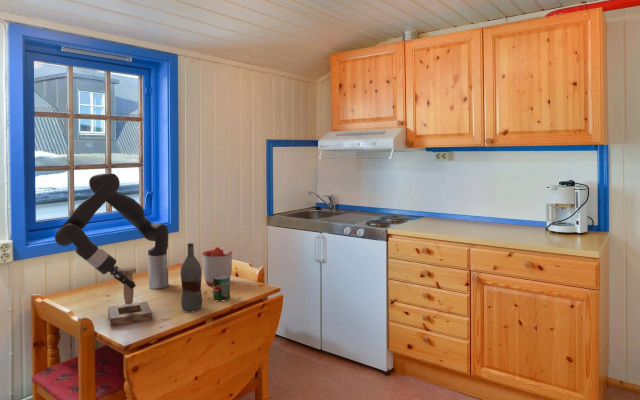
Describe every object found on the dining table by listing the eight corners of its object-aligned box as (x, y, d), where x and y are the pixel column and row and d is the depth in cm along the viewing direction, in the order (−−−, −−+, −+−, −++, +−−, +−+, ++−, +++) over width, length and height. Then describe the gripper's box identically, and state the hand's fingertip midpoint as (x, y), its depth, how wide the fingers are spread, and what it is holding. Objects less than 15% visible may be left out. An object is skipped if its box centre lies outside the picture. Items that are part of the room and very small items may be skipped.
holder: (147, 308, 209) (146, 301, 208) (152, 320, 195) (152, 312, 194) (108, 314, 201) (108, 306, 201) (110, 327, 187) (110, 318, 187)
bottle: (188, 314, 203) (187, 246, 199) (177, 309, 209) (175, 243, 206) (206, 308, 210) (205, 243, 206) (195, 304, 216) (193, 240, 212)
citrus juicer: (240, 281, 253) (240, 245, 250) (217, 289, 238) (217, 251, 236) (220, 277, 261) (219, 242, 259) (196, 284, 246) (195, 247, 244)
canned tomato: (233, 297, 226) (232, 275, 225) (224, 302, 219) (224, 279, 218) (218, 295, 229) (218, 273, 228) (210, 300, 221) (209, 277, 220)
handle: (121, 302, 198) (120, 268, 197) (137, 300, 201) (136, 267, 199) (120, 305, 194) (119, 270, 192) (136, 304, 196) (135, 269, 194)
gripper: (109, 257, 185) (142, 283, 192) (106, 250, 198) (138, 274, 205) (95, 271, 183) (128, 297, 190) (93, 263, 196) (125, 288, 203)
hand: (133, 285), depth 197 cm, fingers closed on handle, 3 cm apart
